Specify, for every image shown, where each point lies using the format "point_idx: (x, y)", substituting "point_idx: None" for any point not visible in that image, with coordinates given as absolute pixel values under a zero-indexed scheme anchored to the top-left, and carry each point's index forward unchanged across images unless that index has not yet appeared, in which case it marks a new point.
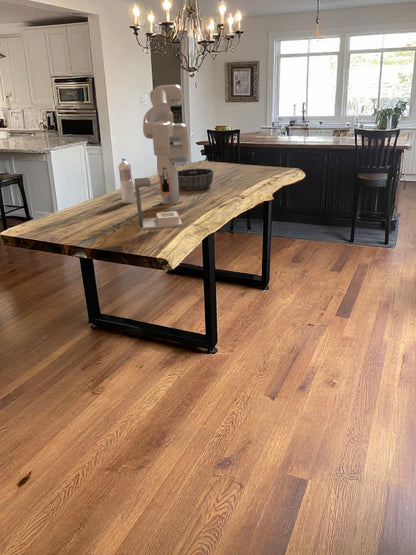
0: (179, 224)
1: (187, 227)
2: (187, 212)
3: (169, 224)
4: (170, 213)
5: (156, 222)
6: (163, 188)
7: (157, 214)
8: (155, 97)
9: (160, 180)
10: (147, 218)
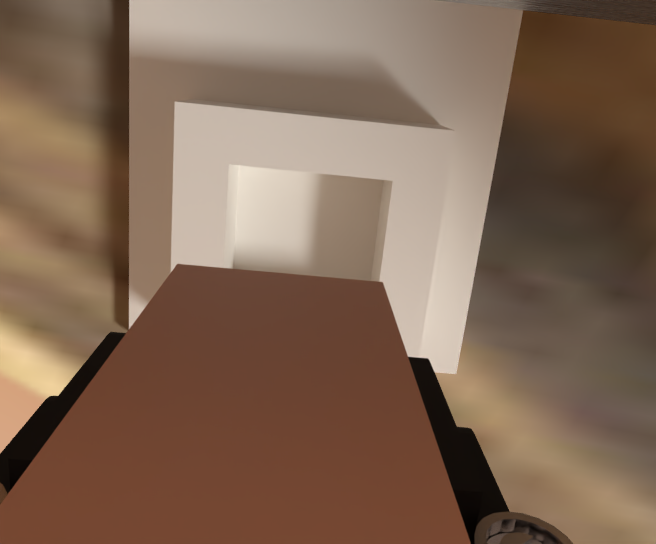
0: (131, 317)
1: (60, 368)
2: (582, 478)
3: (145, 218)
4: None
5: (284, 90)
6: None
7: (370, 131)
8: None
9: (2, 513)
10: (515, 9)
